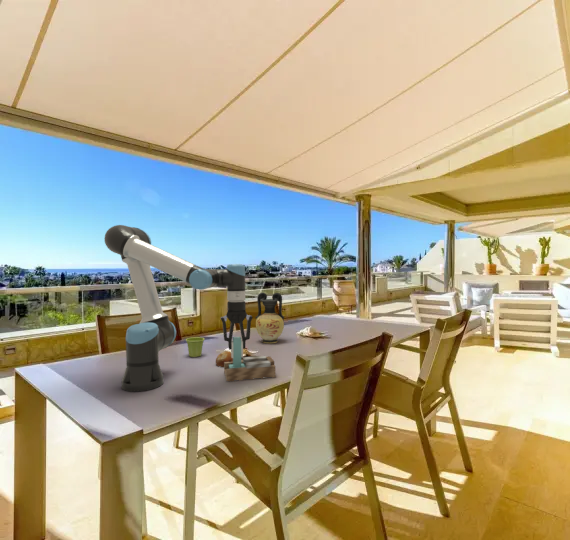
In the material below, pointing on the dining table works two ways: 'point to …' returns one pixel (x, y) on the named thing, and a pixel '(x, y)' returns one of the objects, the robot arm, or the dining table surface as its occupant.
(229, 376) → the slot board
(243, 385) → the dining table surface
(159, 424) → the dining table surface
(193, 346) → the plant pot
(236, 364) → the t post
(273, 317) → the amphora
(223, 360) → the bread roll
